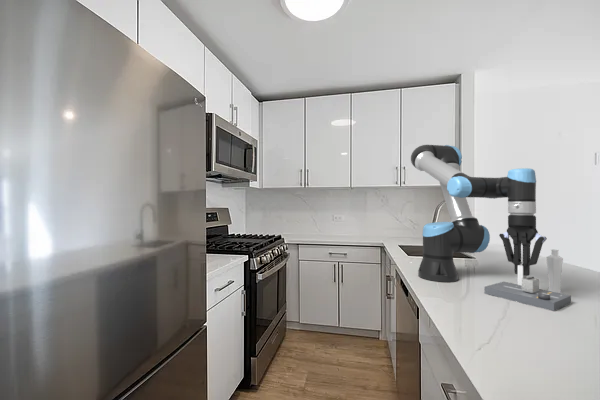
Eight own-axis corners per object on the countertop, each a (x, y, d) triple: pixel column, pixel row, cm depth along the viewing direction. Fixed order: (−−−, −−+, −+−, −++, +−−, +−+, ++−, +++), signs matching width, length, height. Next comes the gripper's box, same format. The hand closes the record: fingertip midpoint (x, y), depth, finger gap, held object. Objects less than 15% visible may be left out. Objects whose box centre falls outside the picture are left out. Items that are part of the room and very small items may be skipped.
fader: (521, 290, 95) (521, 277, 95) (528, 288, 97) (528, 275, 97) (532, 293, 92) (532, 279, 92) (539, 290, 95) (539, 277, 95)
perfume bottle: (567, 293, 102) (567, 251, 102) (554, 293, 102) (554, 250, 102) (556, 289, 106) (556, 249, 107) (544, 289, 106) (544, 248, 107)
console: (484, 293, 100) (484, 281, 100) (503, 287, 108) (503, 277, 108) (553, 311, 84) (553, 297, 84) (571, 303, 91) (571, 290, 91)
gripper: (494, 213, 101) (495, 281, 100) (540, 215, 90) (541, 291, 89) (505, 214, 105) (505, 279, 104) (550, 215, 94) (551, 288, 93)
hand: (522, 284), depth 97 cm, fingers closed
